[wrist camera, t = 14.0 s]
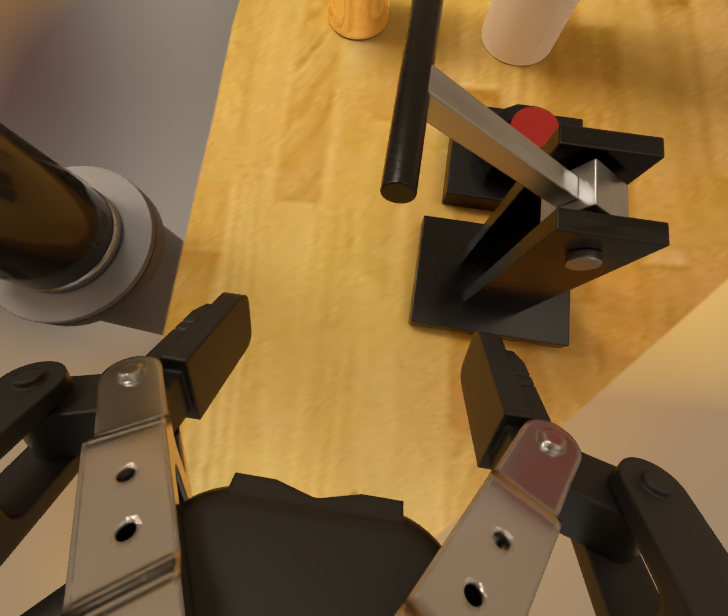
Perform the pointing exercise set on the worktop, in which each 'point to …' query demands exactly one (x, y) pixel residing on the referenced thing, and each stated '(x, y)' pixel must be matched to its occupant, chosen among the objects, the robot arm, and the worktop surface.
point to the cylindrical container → (524, 28)
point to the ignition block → (481, 171)
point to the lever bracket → (533, 249)
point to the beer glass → (358, 17)
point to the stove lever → (478, 134)
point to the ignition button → (535, 124)
